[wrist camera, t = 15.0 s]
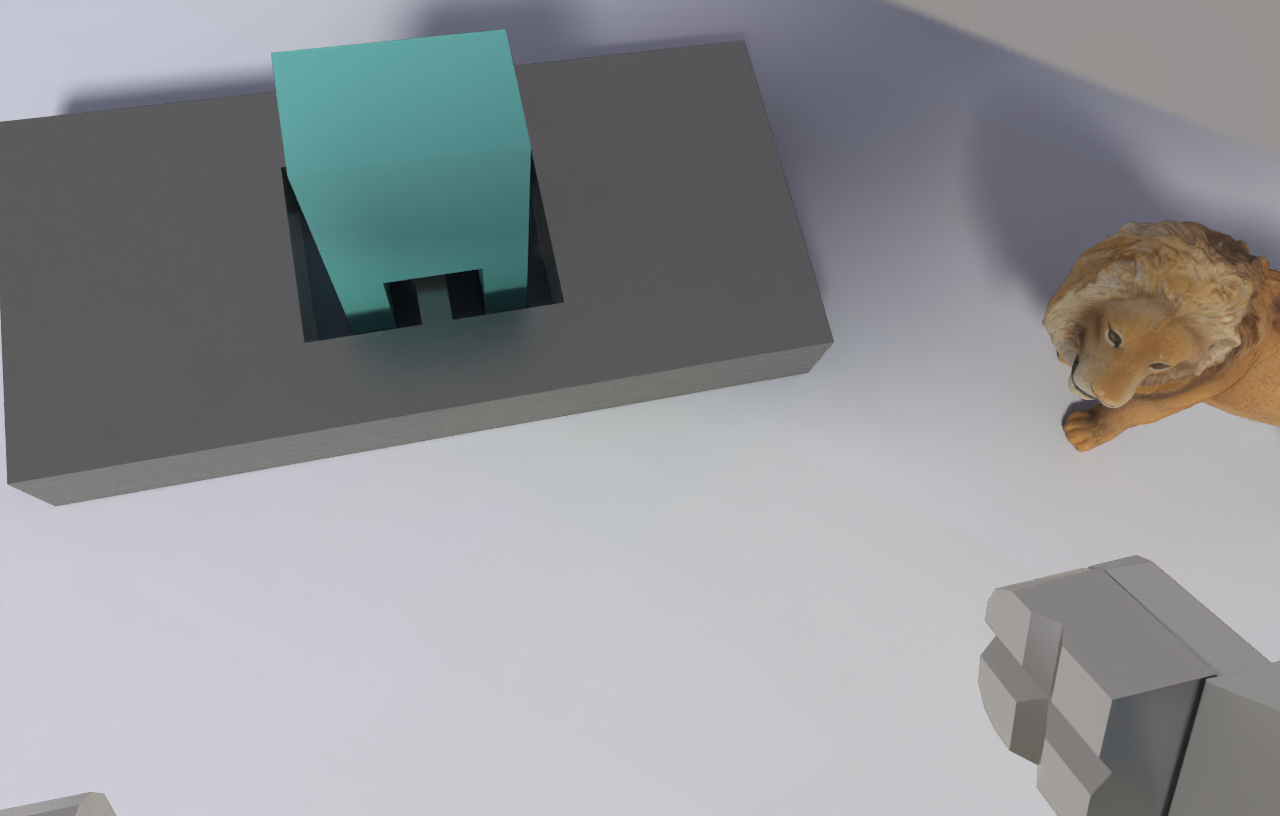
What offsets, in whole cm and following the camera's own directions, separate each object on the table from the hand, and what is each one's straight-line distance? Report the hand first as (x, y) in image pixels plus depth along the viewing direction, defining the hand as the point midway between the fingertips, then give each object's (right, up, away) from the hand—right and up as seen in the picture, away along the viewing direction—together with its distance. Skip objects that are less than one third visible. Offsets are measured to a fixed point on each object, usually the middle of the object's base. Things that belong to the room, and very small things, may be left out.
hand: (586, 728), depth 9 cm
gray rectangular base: (-6, +7, +20) cm, 21 cm away
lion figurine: (+17, +2, +21) cm, 27 cm away
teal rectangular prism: (-6, +7, +20) cm, 22 cm away
